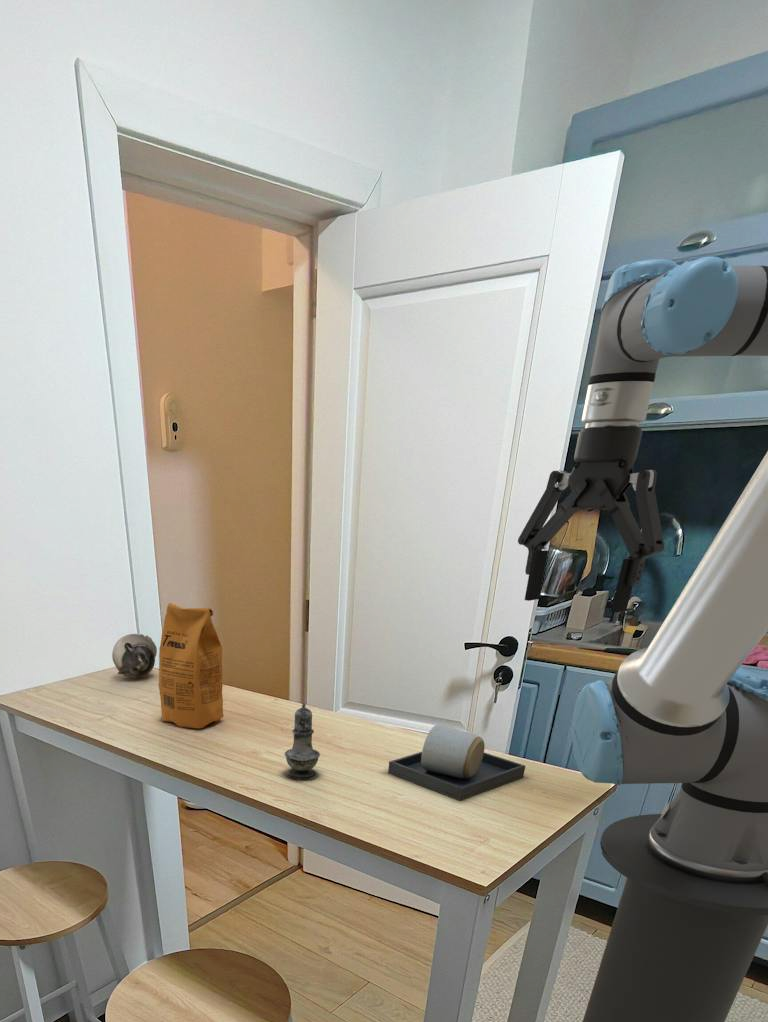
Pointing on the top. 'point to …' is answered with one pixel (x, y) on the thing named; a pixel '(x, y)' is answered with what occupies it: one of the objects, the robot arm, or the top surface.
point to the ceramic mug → (452, 752)
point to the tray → (486, 778)
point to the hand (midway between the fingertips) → (573, 605)
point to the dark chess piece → (302, 748)
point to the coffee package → (190, 668)
